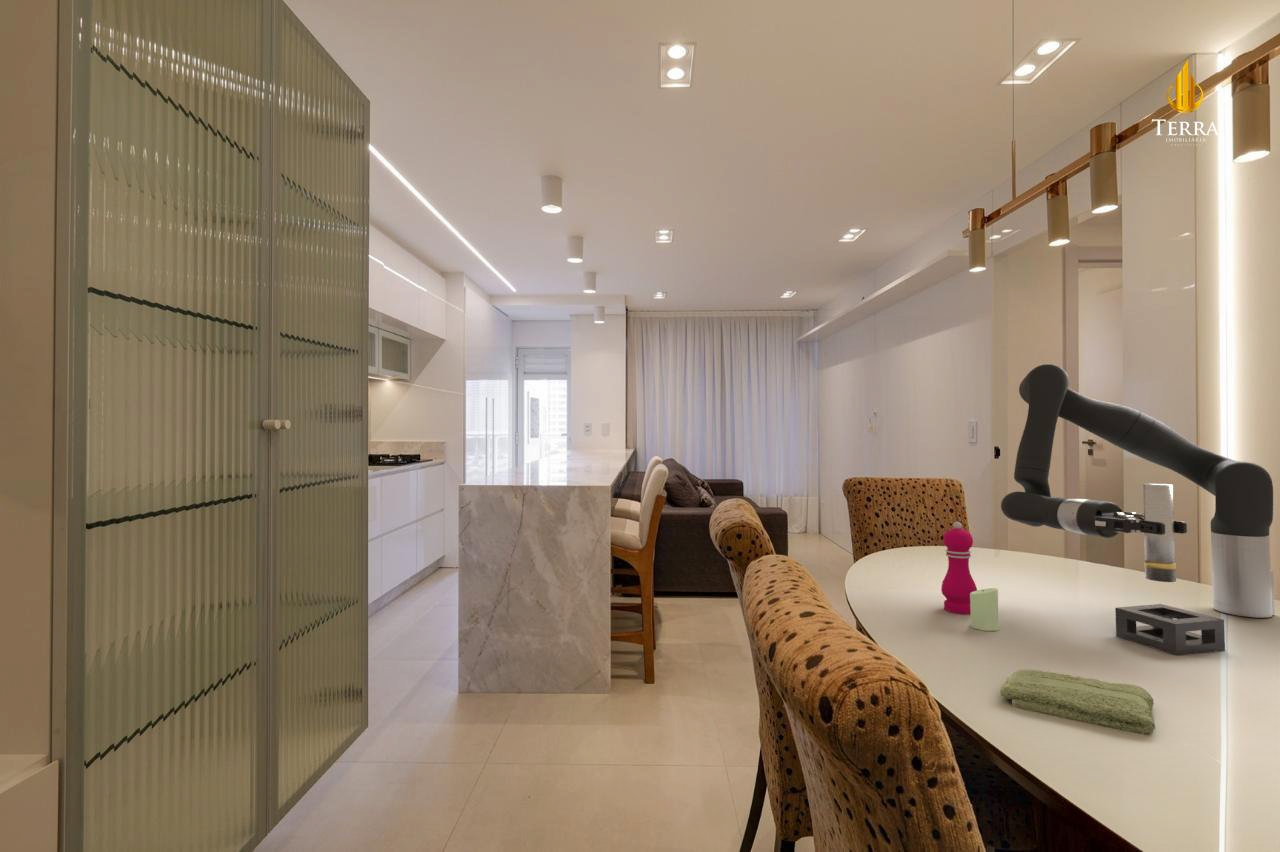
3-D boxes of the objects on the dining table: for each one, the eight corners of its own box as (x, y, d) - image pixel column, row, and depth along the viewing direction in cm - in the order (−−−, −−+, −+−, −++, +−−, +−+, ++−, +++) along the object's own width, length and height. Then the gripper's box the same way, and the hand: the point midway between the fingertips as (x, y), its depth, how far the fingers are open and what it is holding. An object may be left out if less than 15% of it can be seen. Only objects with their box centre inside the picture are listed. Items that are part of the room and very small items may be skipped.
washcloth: (1011, 679, 99) (1011, 659, 99) (1153, 708, 88) (1153, 685, 88) (998, 707, 89) (998, 685, 89) (1157, 743, 78) (1156, 718, 78)
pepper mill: (969, 606, 140) (967, 519, 141) (983, 615, 133) (981, 523, 134) (936, 605, 141) (934, 519, 141) (949, 614, 134) (947, 523, 134)
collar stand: (1161, 631, 121) (1160, 603, 121) (1224, 650, 110) (1223, 619, 110) (1116, 635, 118) (1115, 607, 118) (1176, 655, 108) (1175, 624, 108)
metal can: (1157, 576, 118) (1154, 483, 118) (1183, 581, 113) (1180, 484, 114) (1138, 577, 117) (1135, 483, 117) (1163, 582, 112) (1160, 485, 113)
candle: (967, 628, 124) (966, 587, 125) (974, 622, 128) (973, 583, 128) (995, 633, 121) (994, 591, 121) (1001, 627, 125) (1000, 587, 125)
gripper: (1060, 500, 128) (1142, 509, 111) (1116, 498, 131) (1204, 506, 114) (1061, 536, 128) (1144, 550, 111) (1117, 533, 131) (1205, 546, 114)
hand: (1174, 528), depth 113 cm, fingers closed on metal can, 4 cm apart
